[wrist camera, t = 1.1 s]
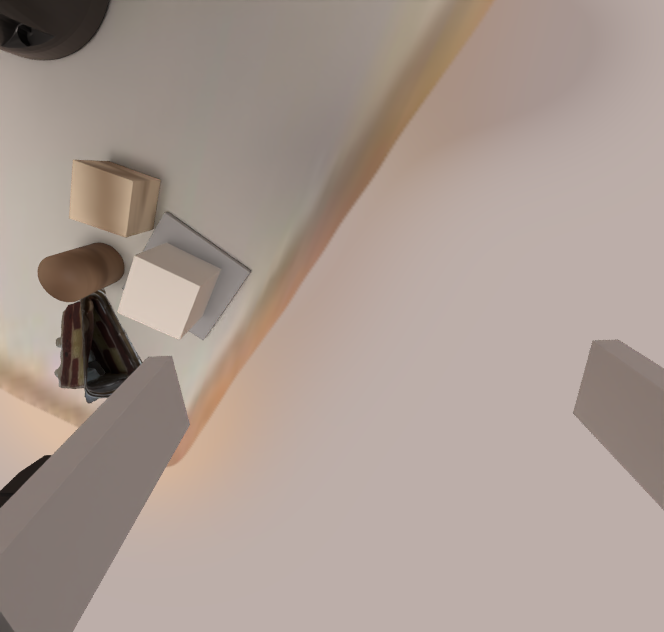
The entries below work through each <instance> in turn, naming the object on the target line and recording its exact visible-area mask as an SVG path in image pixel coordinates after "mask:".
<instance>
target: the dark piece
mask: <svg viewBox="0 0 664 632" xmlns="http://www.w3.org/2000/svg"><path fill="white" fill-rule="evenodd" d="M56 346H57V347H61V349H62V350H61V354H60V355H61V356H60V357H61V365H60V367H59V368H58V369H57V370H55V375H56V377H58V379H59V387H61V388H71V389H77V388H84V389H85V397H86V401H87V403H92V402H93V401H95V400H97V399H99V398H108V397H109V396H110V395H111V394H112V393H113V392H114V391H115V390H116V389H117V388H118V387H119V386H120V385H121V384H122V383H123V382H124V381H125V380H126V379H127V378H128V377H129V376H130V375H131V374H132V373H133V372H134V371H135V370H136V369H137V368H138V367H139V366H140V365H141V364H142V363H143V362H142V361H141V359H140V357H139V356H138V354H137V352H136V351H135V349H134V347H133V345H132V343H131V342H130V341H129V339H128V336H127V334H126V332H125V330H124V329H123V328H122V326H121V324H120V323H119V320H118V318H117V316H116V315H115V313H114V311H113V309H112V306H111V305H110V303H109V302H108V300H107V298H106V293H105V290H104V289H100V290H98V291H96V292H94V293H92V294H90V295H88V296H86V297H84V298H82V299H80V302H77V303H74V304H71V305H68V307H67V308H66V310H65V311H64V312H63V316H62V324H61V338H57V339H56ZM94 360H96V361H97V362H98V363H99V364H100V365H101V367H102V368H103V370H104V371H105V374H104V375H102V376H101V375H99V374H98V373H97V371H96V370H95V369H90V368H88V363H89V362H93V361H94Z"/></svg>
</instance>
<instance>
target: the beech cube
mask: <svg viewBox="0 0 664 632" xmlns="http://www.w3.org/2000/svg"><path fill="white" fill-rule="evenodd" d="M160 182H161V180H160V179H157V178H154V177H151V176H149V175H146V174H143V173H140V172H137V171H135V170H132V169H129V168H126V167H124V166H121V165H118V164H115V163H112V162H110V161H92V160H73V166H72V182H71V197H70V212H69V218H70V219H73V220H76V221H79V222H82V223H85V224H88V225H91V226H94V227H97V228H100V229H102V230H105V231H108V232H111V233H114V234H117V235H120V236H123V237H129V236H132V235H136V234H139V233H142V232H146V231H149V230H152V229H153V227H154V220H155V214H156V207H157V201H158V195H159V188H160Z"/></svg>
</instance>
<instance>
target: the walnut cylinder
mask: <svg viewBox="0 0 664 632" xmlns="http://www.w3.org/2000/svg"><path fill="white" fill-rule="evenodd" d="M123 274H124V262H123V259H122V257H121V256H120V254H119V253H118V252H117V251H116V250H115V249H114V248H113V247H111V246H109V245H107V244H104V243H93V244H90V245H86V246H83V247H79V248H76V249H73V250H69V251H66V252H62V253H59V254H55V255H52V256H49V257H46V258H45V259H43V260H42V261H41V262H40V264H39V267H38V278H39V281H40V283H41V285H42V286H43V288H44V289H45V290H46V291H47V292H48V293H49V294H50V295H51V296H53V297H54V298H56V299H58V300H60V301H64V302H75V301H78V300H80V299H82V298H84V297H86V296H88V295H90V294H92V293H94V292H96V291H98V290H100V289H102V288H104V287H106V286H108V285H110V284H113V283H115V282H117V281H118V280H120V279H121V277H122V276H123Z"/></svg>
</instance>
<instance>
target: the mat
mask: <svg viewBox="0 0 664 632" xmlns="http://www.w3.org/2000/svg"><path fill="white" fill-rule="evenodd" d="M164 243H168V244H171V245H173V246H175V247H177V248H179V249H181V250H183V251H185V252H187V253H189V254H191V255H193V256H195V257H197V258H199V259H202V260H204V261H206V262H208V263H210V264H212V265H214V266H216V267H218V268H220V269H221V271H220V274H219V276H218V279H217V281H216V284H215V286H214V289H213V291H212V294H211V296H210V299H209V301H208V304H207V306H206V309H205V311H204V314H203V316H202V317H201V318H200V319H199V320H198V321H197V322H196V323H195V324H194V325H193V326H192V328H191V329H190V330H189V332H191V333H192V334H194V335H196V336H197V337H199V338H200V339H202V340H204V339H205V337H206V336H207V334H208V333H209V332H210V330H211V329H212V327H213V326H214V324H215V323H216V321H217V320H218V318H219V317H220V316H221V314H222V313H223V311H224V310H225V308H226V307H227V305H228V304H229V303H230V301H231V300H232V298H233V297H234V295H235V294H236V292H237V291H238V290H239V288H240V287H241V285H242V284H243V282H244V281H245V279H246V278H247V276H248V275H249V274H250V272H251V270H249V269H248V268H246V267H245V266H244V265H242V264H241V263H239V262H238V261H236V260H235V259H234V258H232V257H231V256H229V255H228V254H227V253H225V252H224V251H222V250H221V249H219V248H218V247H217V246H215V245H214V244H212V243H211V242H209V241H208V240H207V239H205V238H204V237H202V236H201V235H200V234H198V233H197V232H195V231H194V230H192V229H191V228H190V227H188V226H187V225H185V224H184V223H183V222H181V221H180V220H178V219H177V218H175V217H174V216H173V215H171V214H170V213H168V212H164V214H163V216H162V218H161V219H160V221H159V223H158V225H157V227H156V228H155V230H154V232H153V234H152V236H151V238H150V239H149V241H148V243H147V245H146V247H145V248H144V250H143V252H144V251H147V250H149V249H152V248H154V247H156V246H159V245H161V244H164ZM126 282H127V281H126ZM125 285H126V283H125ZM125 285H124V286H123V288H122V289H123V290H124V289H125Z"/></svg>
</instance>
